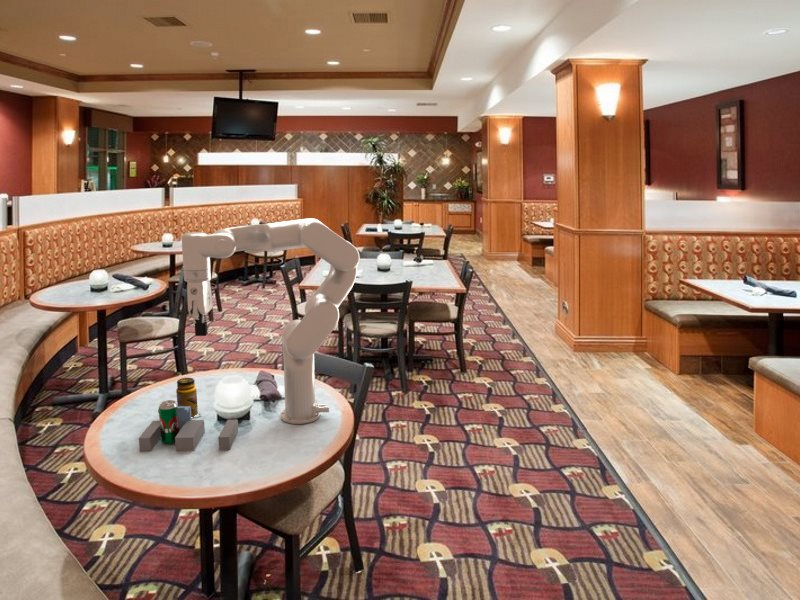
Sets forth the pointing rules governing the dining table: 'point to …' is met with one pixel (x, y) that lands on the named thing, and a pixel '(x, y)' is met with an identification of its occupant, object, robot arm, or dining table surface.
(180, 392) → the condiment
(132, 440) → the dining table surface
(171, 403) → the soda can
